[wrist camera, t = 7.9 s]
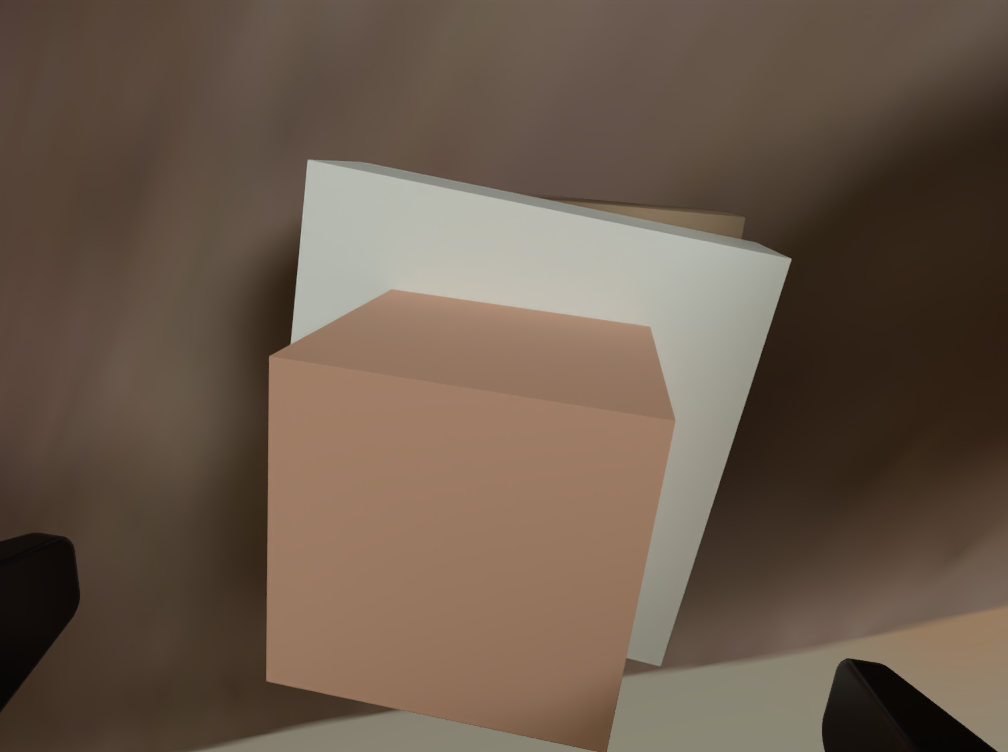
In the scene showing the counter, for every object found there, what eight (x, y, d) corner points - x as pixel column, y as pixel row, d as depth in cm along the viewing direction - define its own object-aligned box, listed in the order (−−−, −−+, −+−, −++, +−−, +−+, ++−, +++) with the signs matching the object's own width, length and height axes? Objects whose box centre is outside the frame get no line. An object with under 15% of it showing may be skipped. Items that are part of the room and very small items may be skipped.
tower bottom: (722, 210, 18) (745, 217, 15) (669, 518, 20) (680, 575, 17) (386, 180, 19) (347, 181, 16) (378, 478, 21) (343, 525, 18)
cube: (649, 326, 13) (675, 421, 8) (606, 557, 14) (606, 753, 9) (391, 289, 13) (268, 355, 8) (376, 516, 15) (266, 681, 10)
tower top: (755, 242, 15) (791, 258, 12) (651, 586, 18) (660, 666, 15) (362, 161, 15) (307, 159, 13) (322, 504, 18) (270, 566, 15)
